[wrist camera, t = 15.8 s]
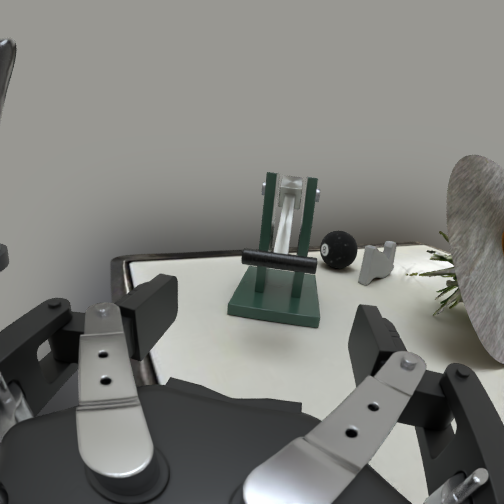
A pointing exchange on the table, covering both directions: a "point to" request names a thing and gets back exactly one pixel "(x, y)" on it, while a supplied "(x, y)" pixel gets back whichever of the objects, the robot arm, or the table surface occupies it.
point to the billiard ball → (338, 249)
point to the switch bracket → (277, 281)
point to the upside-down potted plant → (476, 248)
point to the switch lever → (283, 235)
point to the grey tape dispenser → (377, 262)
